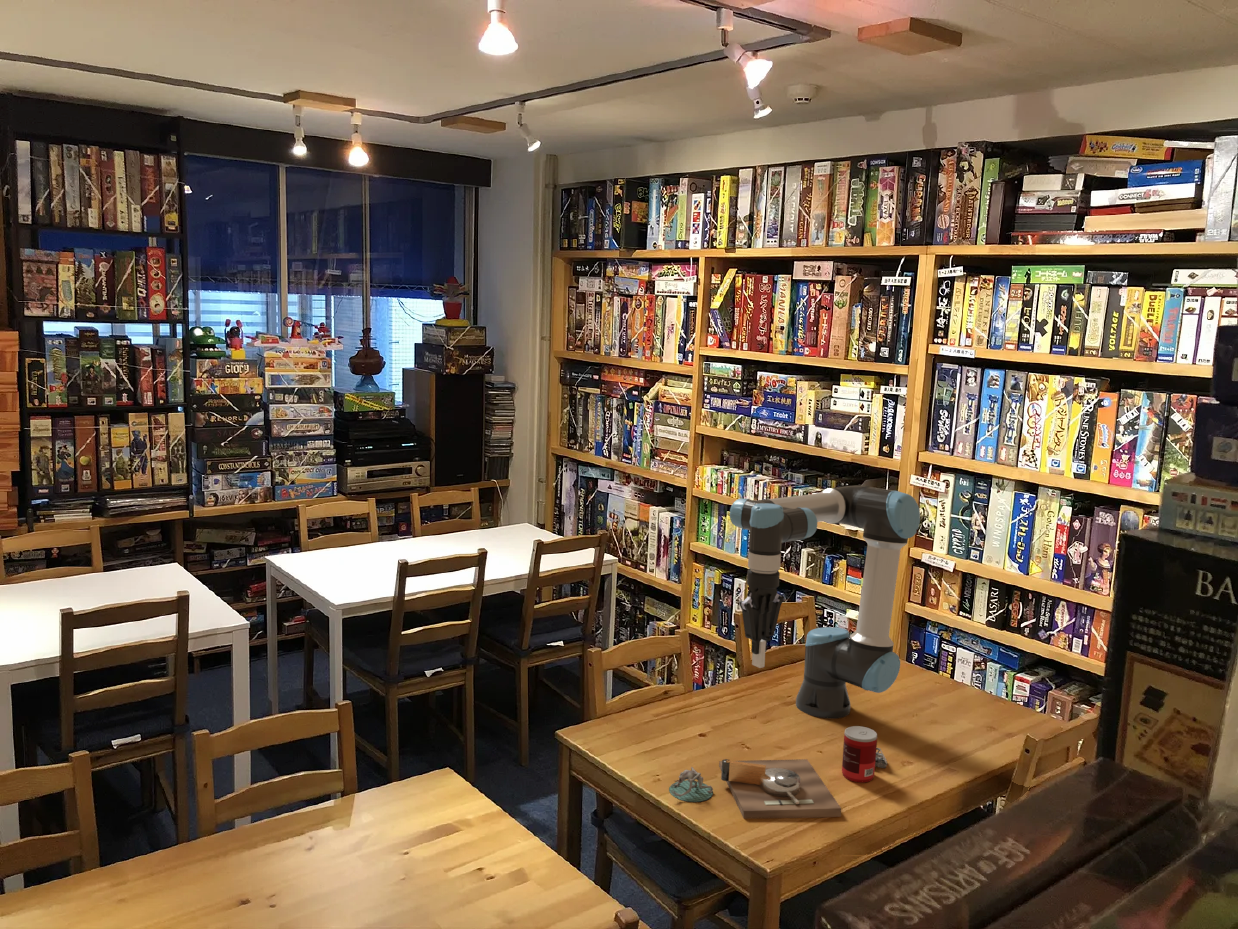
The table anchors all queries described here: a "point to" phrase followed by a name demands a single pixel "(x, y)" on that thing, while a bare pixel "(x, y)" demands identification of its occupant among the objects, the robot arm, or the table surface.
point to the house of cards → (880, 759)
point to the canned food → (859, 754)
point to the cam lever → (763, 778)
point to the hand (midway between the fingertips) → (758, 665)
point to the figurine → (691, 787)
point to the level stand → (763, 805)
